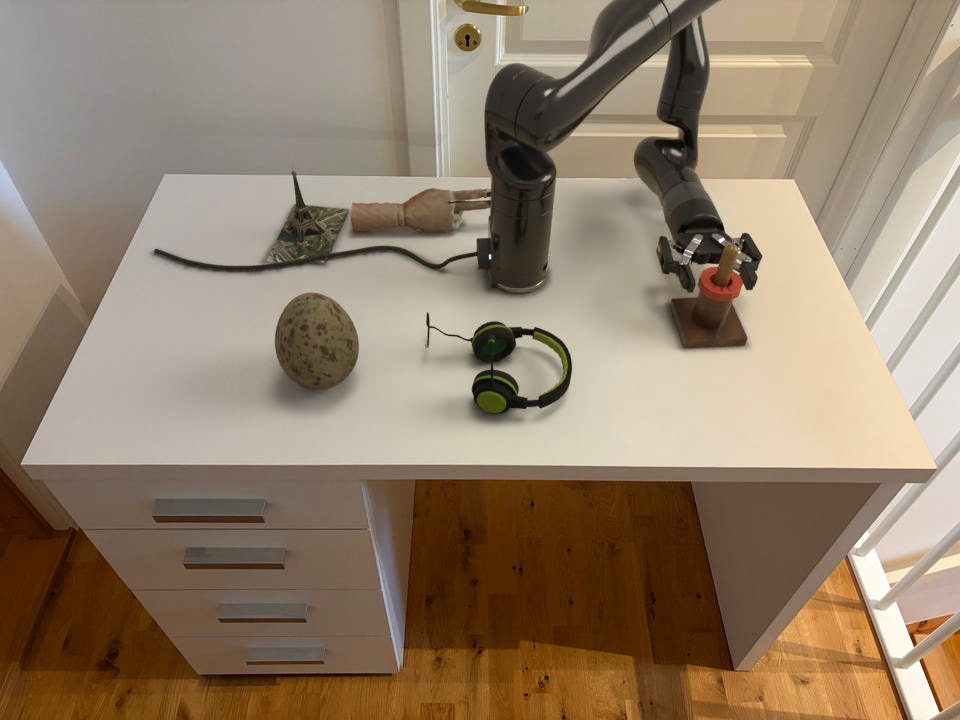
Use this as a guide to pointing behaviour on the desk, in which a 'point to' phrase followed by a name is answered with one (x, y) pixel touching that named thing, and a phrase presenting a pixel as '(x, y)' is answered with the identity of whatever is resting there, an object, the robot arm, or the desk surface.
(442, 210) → the mannequin hand
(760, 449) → the desk surface
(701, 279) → the ring
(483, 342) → the headphones
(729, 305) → the ring stand
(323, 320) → the decorative egg
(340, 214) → the eiffel tower figurine
